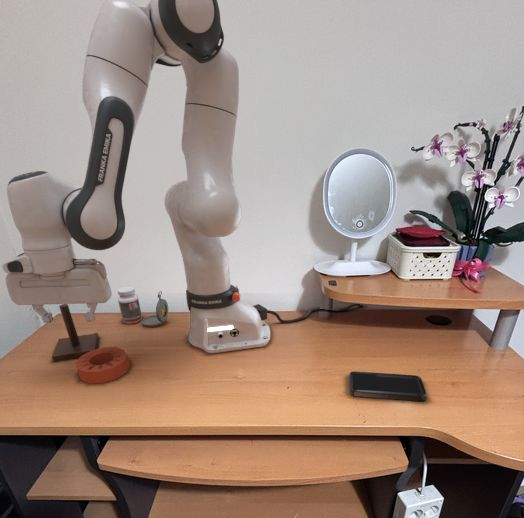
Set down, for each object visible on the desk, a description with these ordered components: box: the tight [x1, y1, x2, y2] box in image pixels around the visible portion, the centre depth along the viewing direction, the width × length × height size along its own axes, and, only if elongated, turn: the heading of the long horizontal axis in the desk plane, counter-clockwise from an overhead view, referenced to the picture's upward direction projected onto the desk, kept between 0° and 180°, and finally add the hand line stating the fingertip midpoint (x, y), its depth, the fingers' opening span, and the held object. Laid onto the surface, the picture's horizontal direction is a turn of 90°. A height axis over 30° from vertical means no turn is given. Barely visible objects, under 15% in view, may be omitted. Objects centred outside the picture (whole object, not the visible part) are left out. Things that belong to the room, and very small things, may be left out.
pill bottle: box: [117, 286, 143, 325], centre depth 112 cm, size 6×6×10 cm
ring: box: [75, 346, 131, 385], centre depth 89 cm, size 11×11×3 cm
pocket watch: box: [140, 291, 169, 328], centre depth 109 cm, size 8×8×10 cm
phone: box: [348, 370, 427, 402], centre depth 80 cm, size 8×1×15 cm
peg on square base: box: [51, 304, 100, 362], centre depth 97 cm, size 10×10×12 cm
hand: (70, 321), depth 84 cm, fingers open, 8 cm apart
